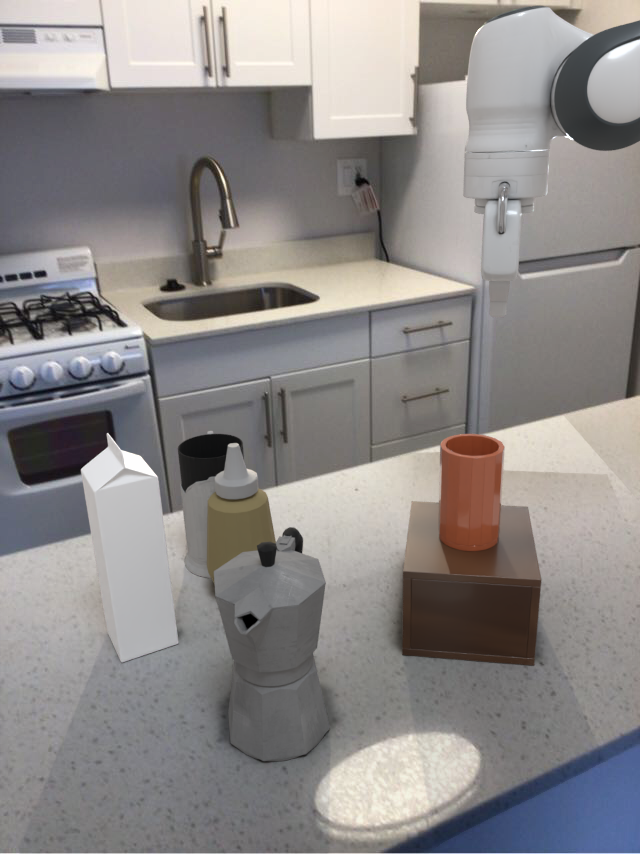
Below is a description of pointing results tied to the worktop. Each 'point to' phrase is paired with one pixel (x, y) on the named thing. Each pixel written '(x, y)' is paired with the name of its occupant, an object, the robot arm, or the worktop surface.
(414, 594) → the cabinet
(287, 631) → the coffeepot
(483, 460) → the cup
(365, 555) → the worktop surface
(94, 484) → the milk
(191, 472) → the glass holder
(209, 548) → the squeeze bottle
